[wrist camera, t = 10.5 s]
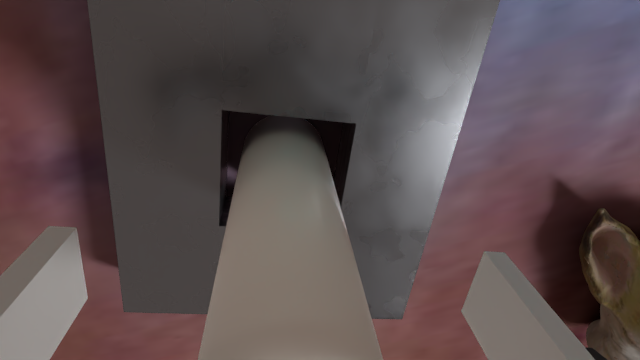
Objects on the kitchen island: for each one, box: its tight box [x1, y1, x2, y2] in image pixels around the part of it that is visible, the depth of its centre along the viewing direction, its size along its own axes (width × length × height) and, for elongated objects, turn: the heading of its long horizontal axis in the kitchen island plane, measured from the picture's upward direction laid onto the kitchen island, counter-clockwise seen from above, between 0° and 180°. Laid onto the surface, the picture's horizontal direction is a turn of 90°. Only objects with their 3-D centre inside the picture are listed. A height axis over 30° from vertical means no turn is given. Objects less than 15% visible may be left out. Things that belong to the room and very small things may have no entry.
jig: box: [87, 0, 500, 319], centre depth 20 cm, size 18×16×3 cm
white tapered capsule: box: [198, 115, 383, 360], centre depth 15 cm, size 4×4×14 cm
